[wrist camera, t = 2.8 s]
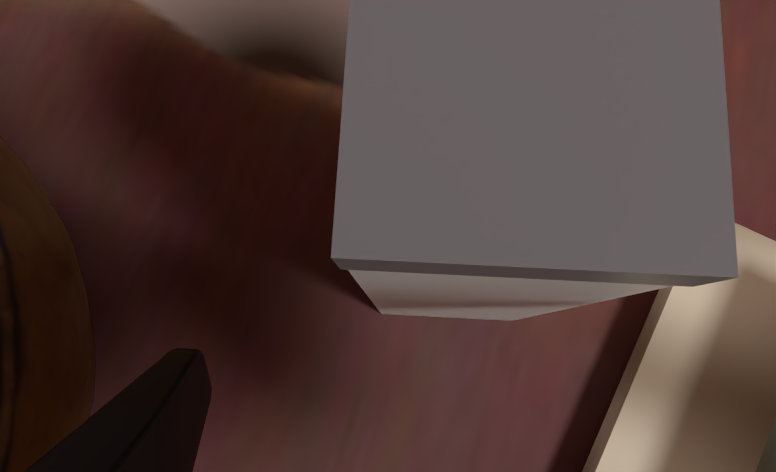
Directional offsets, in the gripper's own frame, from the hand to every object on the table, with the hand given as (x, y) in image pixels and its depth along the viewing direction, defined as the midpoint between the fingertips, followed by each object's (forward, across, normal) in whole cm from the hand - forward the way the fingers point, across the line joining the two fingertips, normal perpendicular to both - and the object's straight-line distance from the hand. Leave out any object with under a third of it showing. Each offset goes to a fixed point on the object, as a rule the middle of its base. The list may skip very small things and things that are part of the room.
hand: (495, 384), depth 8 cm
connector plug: (+10, 0, +5) cm, 11 cm away
